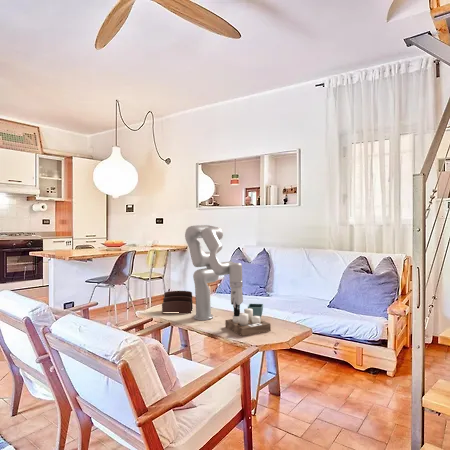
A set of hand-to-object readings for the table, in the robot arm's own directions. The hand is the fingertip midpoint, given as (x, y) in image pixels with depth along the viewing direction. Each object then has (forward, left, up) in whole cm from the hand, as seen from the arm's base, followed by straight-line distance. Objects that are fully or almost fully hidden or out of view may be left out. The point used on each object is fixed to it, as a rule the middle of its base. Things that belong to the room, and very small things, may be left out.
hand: (237, 315), depth 202 cm
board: (+5, +4, -7) cm, 9 cm away
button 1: (0, 0, -6) cm, 6 cm away
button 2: (+8, 0, -4) cm, 9 cm away
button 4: (+8, +8, -6) cm, 13 cm away
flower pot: (-8, +18, -7) cm, 21 cm away
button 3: (0, +8, -4) cm, 9 cm away
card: (+13, +4, -3) cm, 14 cm away
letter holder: (-54, -17, -7) cm, 57 cm away
